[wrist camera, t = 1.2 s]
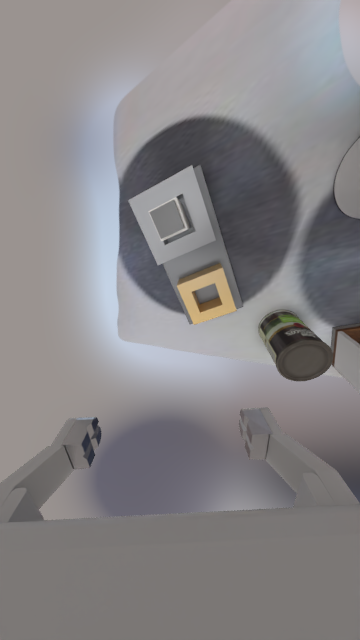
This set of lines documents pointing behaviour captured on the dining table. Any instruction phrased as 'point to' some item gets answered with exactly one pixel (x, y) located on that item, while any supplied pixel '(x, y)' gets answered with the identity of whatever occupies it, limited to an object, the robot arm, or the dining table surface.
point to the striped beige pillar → (347, 353)
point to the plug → (169, 219)
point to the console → (191, 247)
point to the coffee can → (294, 346)
